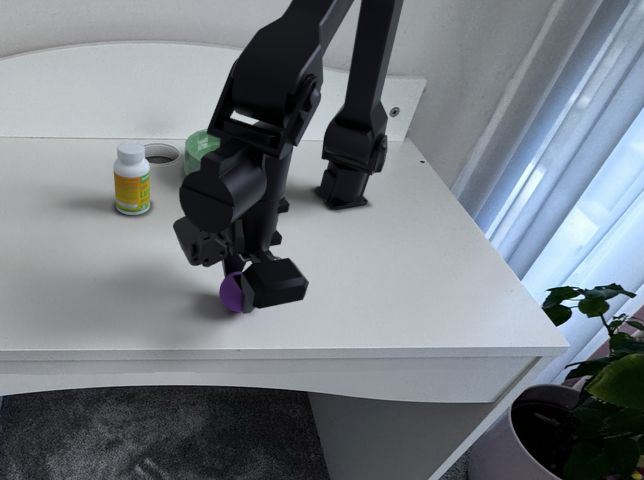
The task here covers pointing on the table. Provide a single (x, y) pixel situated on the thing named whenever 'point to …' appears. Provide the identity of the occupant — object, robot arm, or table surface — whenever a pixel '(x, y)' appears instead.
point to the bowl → (198, 149)
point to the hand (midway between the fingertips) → (238, 299)
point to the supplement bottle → (132, 178)
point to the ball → (230, 293)
